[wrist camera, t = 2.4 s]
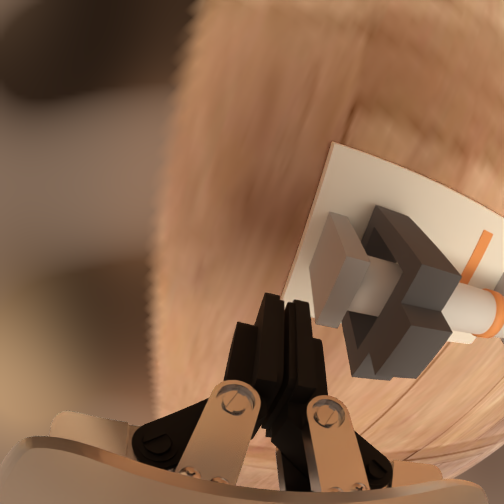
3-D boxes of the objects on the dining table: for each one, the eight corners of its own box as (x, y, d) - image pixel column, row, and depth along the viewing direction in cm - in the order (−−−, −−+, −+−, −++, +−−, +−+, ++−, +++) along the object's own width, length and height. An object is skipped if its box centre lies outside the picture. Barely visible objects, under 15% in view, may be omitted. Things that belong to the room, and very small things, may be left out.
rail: (279, 301, 22) (275, 371, 16) (331, 141, 16) (360, 161, 10) (467, 337, 22) (492, 386, 16) (527, 232, 16) (572, 271, 10)
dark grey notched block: (335, 297, 19) (355, 398, 12) (375, 204, 16) (436, 284, 9) (366, 303, 19) (395, 401, 12) (408, 216, 16) (476, 295, 9)
